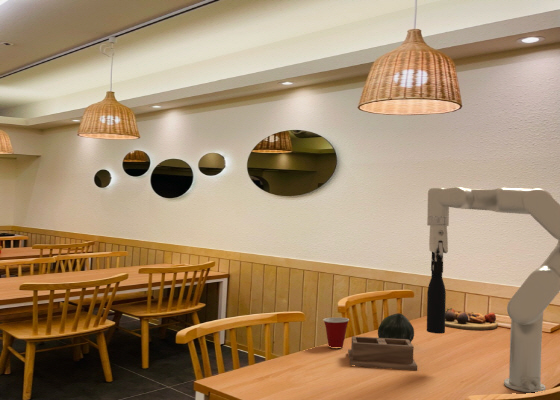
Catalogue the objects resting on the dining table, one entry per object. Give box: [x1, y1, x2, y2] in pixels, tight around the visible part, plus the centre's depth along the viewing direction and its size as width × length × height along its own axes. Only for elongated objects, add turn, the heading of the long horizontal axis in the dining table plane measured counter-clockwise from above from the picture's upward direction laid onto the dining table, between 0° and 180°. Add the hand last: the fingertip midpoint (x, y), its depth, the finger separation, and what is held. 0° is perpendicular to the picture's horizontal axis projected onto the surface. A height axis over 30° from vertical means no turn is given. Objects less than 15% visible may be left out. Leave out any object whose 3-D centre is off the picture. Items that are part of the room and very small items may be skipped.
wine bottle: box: [426, 249, 447, 335], centre depth 193 cm, size 6×6×30 cm
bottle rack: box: [347, 336, 418, 371], centre depth 201 cm, size 18×24×8 cm
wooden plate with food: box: [445, 307, 499, 331], centre depth 279 cm, size 32×32×8 cm
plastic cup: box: [322, 317, 350, 348], centre depth 219 cm, size 11×11×12 cm
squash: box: [377, 312, 415, 343], centre depth 226 cm, size 14×15×15 cm
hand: (436, 271), depth 193 cm, fingers closed on wine bottle, 3 cm apart
